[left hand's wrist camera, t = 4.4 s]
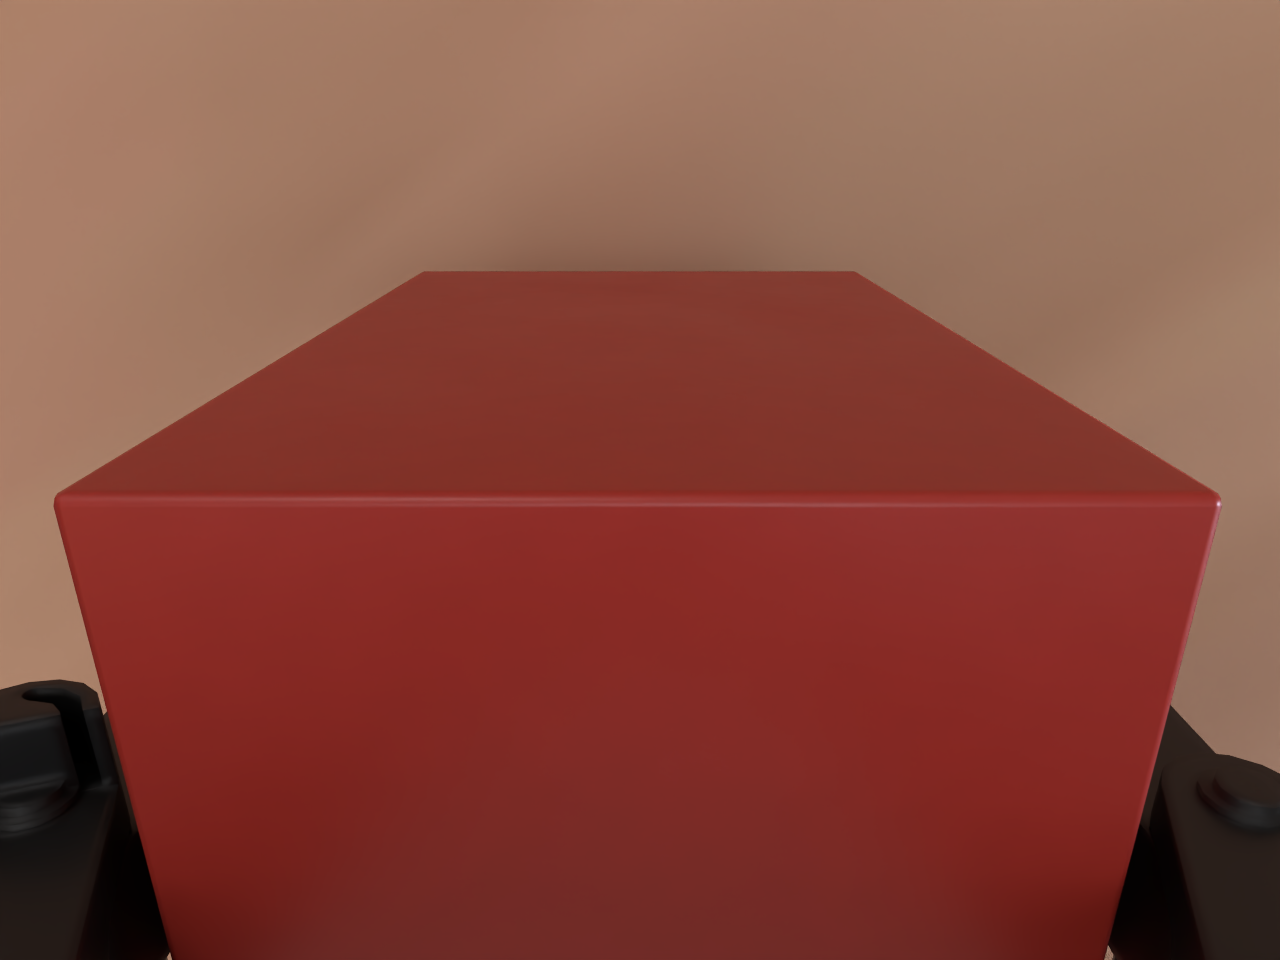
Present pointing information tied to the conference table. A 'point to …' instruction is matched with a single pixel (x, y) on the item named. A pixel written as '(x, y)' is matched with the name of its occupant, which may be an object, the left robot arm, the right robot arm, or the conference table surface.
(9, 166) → the conference table surface
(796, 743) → the brick
